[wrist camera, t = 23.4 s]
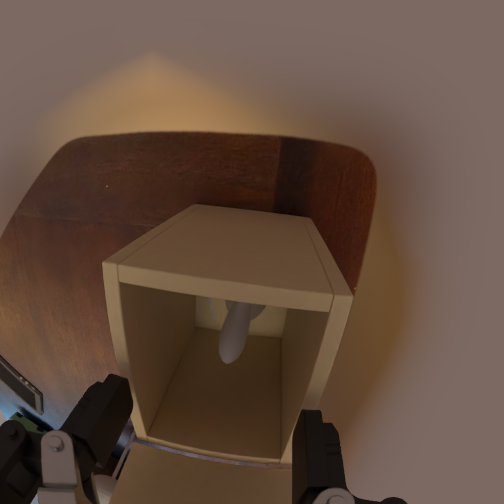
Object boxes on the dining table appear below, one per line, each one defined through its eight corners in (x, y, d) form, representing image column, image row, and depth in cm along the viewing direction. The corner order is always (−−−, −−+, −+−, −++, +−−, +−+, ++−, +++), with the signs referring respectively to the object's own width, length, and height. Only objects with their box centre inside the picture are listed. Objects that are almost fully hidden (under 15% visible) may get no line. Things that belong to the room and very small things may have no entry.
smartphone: (42, 393, 32) (40, 396, 32) (43, 414, 35) (41, 416, 34) (-15, 339, 31) (-18, 341, 30) (-10, 365, 34) (-12, 367, 33)
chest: (193, 203, 21) (101, 261, 9) (310, 217, 21) (354, 296, 9) (189, 327, 25) (137, 439, 13) (288, 341, 24) (290, 465, 12)
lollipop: (152, 424, 31) (114, 516, 16) (158, 446, 32) (128, 528, 18) (111, 411, 31) (66, 493, 17) (120, 434, 33) (84, 509, 19)
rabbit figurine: (252, 326, 22) (255, 377, 14) (204, 311, 22) (183, 354, 14) (278, 255, 22) (295, 272, 14) (228, 238, 22) (216, 246, 14)
